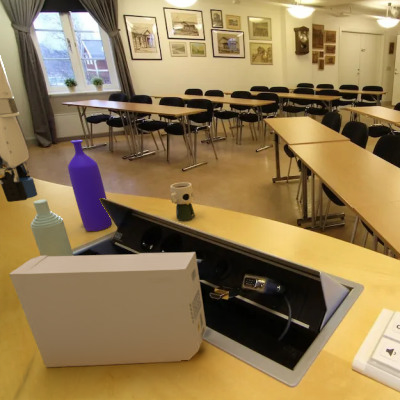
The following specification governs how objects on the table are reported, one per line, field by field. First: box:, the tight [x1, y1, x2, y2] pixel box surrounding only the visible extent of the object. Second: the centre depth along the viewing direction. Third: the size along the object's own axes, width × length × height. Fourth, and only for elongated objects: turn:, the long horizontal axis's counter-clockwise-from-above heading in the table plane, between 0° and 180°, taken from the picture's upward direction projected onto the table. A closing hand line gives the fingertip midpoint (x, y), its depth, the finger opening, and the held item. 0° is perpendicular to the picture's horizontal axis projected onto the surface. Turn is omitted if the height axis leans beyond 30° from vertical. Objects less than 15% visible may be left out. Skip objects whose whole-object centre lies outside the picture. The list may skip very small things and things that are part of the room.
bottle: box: [67, 139, 112, 232], centre depth 106 cm, size 8×8×30 cm
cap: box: [19, 176, 38, 199], centre depth 68 cm, size 4×4×4 cm
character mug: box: [169, 181, 196, 221], centre depth 117 cm, size 11×7×13 cm, turn 163°
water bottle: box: [30, 198, 75, 256], centre depth 85 cm, size 7×7×19 cm
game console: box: [9, 251, 207, 368], centre depth 58 cm, size 6×27×20 cm, turn 94°
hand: (21, 196), depth 68 cm, fingers closed on cap, 3 cm apart
